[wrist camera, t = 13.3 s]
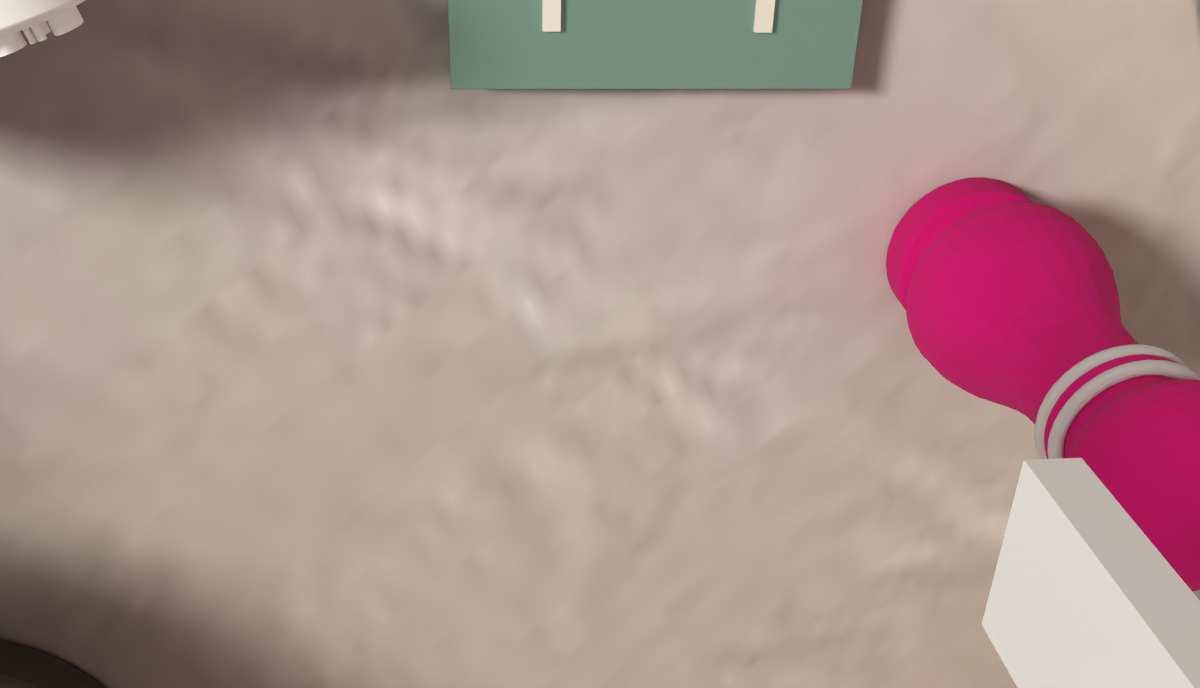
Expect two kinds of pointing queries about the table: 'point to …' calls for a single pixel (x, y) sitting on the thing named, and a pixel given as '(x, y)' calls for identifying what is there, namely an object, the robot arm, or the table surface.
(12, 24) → the cable organizer
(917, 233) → the pepper mill
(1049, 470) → the robot arm
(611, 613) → the table surface
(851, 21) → the board
